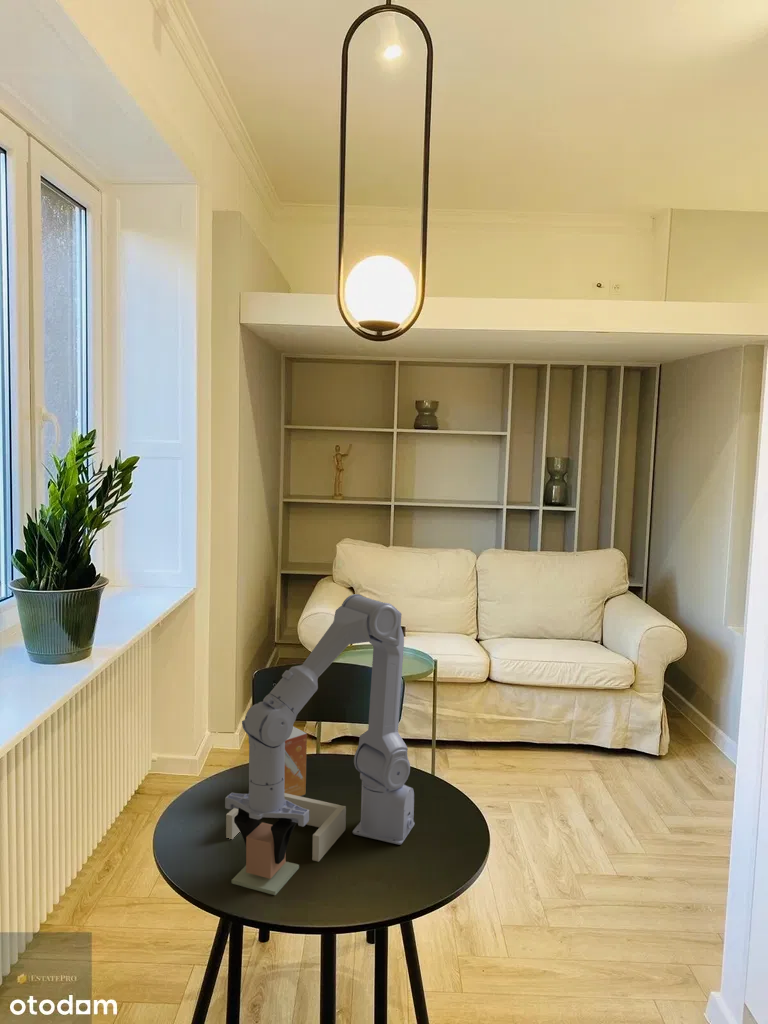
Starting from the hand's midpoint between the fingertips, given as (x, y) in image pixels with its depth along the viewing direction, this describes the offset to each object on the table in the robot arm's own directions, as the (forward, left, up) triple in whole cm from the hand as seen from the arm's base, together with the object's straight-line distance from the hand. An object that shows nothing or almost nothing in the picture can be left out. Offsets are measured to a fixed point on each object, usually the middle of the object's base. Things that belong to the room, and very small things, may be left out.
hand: (266, 857), depth 119 cm
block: (0, 0, -2) cm, 2 cm away
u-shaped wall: (+3, -12, -3) cm, 13 cm away
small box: (+11, -25, -3) cm, 28 cm away
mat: (0, 0, -3) cm, 3 cm away
